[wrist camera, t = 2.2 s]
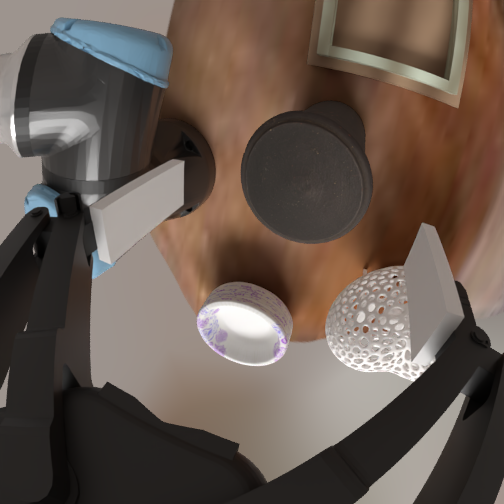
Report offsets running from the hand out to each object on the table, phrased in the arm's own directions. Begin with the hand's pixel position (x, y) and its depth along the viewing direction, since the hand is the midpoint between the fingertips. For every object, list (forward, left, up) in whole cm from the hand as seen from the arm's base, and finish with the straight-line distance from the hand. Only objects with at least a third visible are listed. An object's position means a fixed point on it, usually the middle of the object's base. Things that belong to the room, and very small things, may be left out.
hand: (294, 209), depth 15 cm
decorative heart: (+14, -17, -23) cm, 32 cm away
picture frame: (+5, +17, -23) cm, 29 cm away
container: (0, 0, -23) cm, 23 cm away
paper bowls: (-6, -31, -23) cm, 39 cm away
